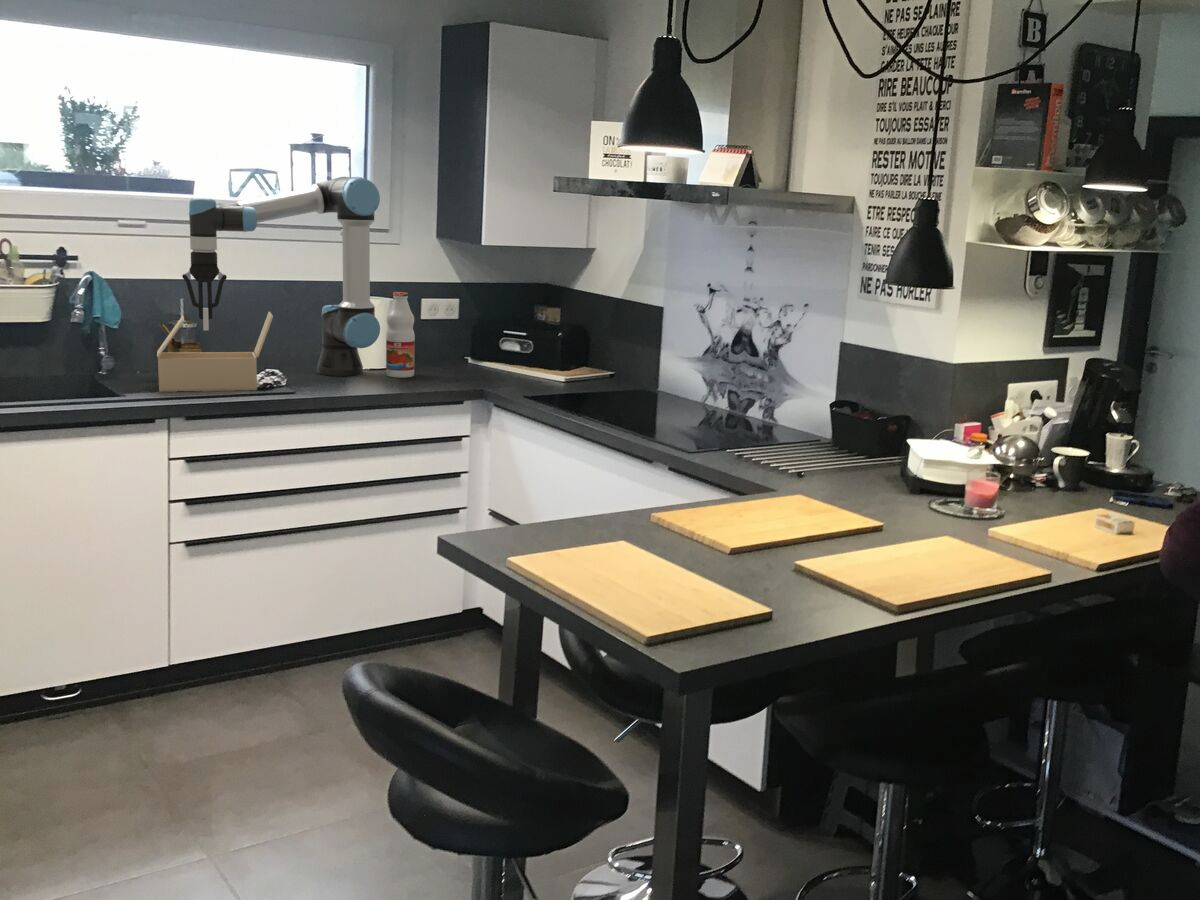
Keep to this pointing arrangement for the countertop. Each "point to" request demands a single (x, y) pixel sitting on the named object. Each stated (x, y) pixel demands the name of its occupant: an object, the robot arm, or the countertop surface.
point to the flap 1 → (170, 336)
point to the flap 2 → (263, 334)
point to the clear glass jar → (177, 344)
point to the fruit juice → (400, 338)
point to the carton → (207, 371)
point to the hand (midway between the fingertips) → (206, 329)
